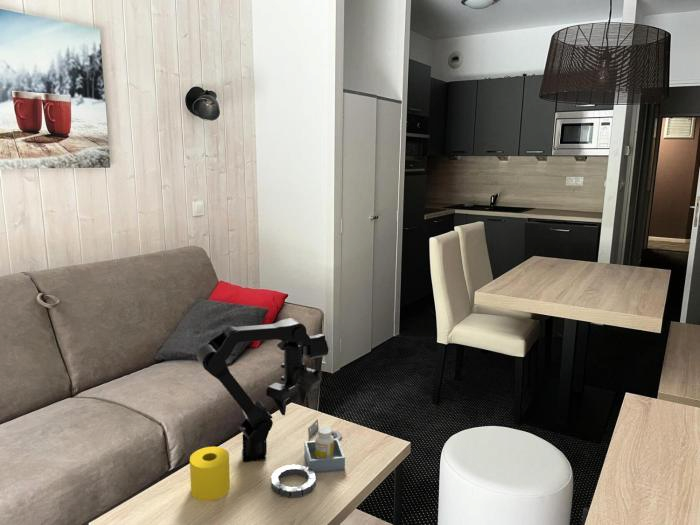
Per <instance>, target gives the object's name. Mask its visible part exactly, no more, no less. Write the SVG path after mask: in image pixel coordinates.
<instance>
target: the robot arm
mask: <svg viewBox="0 0 700 525" xmlns="http://www.w3.org/2000/svg"><path fill="white" fill-rule="evenodd" d="M272 340H275V341H276V340H278V341H280V342H278V344H277V345H276V347H278V349H280V350H281V351H283V362H282V363H281V364H280V368H282V369H283V376H281V377H280V381H282V382H284V383H283V384H282V383H279V382H274V383H271V384H270V385H268V386H266V388H265V396H267V397H270V398H272V400H273V401H274V403H275V405H276V406H277V408H278V410H279V412H280V414H281V415H282V416H285V415H286V411H287V402H288V401H287V400H289V399H290V398H291V396H290V393H291V392H290V391H291V390H290V389H293V388H295V387H297V389H298V390H297V391H298V396H299V400H300V404H302V405H304V404H305V402H306V400H307V397H308V393H311V392H312V391H314V390H316V389H317V388H318V386H319V384H320V383H322V381H323V380H322V377H323V376H322V374H323V373H322V370H320V369H319V368H317V369H313V368H310V367H308V366H307V363H305V362H304V357H306V358H307V359H315V358H321V357H325V356H328V354H329V349H330V348H329V346H328V342H327V340H326V335H324V334H323V333H319V334H316V335H308V333H307V327H306V326H305V325H304V324H303V323H302V322H300V321H299V320H297V319H296V318H293V317H289V318H288V317H287V318H285V319H280V320H278V321H277V322H275V323H271V324H270V323H269V324H257V325H255V324H254V325H244V326H243V325H242V326H241V325H240V326H232V325H231V326H228V327H226V328H225V329H224V330H223V331H222V332H221V333H219V334H218V335H215V336H214V337H212V338H211V339H210V340H209V341H208V343H207V344H204V345H202V346H201V347H200V348H199V349H198V351H197V353H196V358H197V359H196V360H198V362H199V363H200V364H201V366H202V368H204V370H205V371H206V372H207V373H208V374H210V375H211V376H212V377H213V378H215V379H216V380H218V381H219V382H220V383H221V384H222V386H223V387H224V388H225V390H226V391H227V392H228V394H230V396H231V397H232V398H233V400H234V401H235V402H236V403H237V405H238V406H239V407H240V408H241V411H242V413H243V415H244V417H245V418H244V420H242V422H241V424H240V425H239V426H238V427H239V429H240V431H241V432H242V449H241V450H242V451H241V453H242V454H241V455H242V456H241V457H242V463H243V462H255V461H265V460H266V455H267V450H268V449H267V448H268V447H267V444H268V443H267V439H268V436H269V434H270V431H271V429H272V427H273V424H274V423H273V422H274V421H273V420H272V418H273V415H272V414H271V413H270V412H269V411H268V410H267V408H266V407H265V406H264V404H263V403H262V402H261V401H260V400H259V399H258V400H257V401H256V402H255V401H253V400H252V398H250V396H249V395H248V394H247V392H246V391H245V390H244V389H243V387H242V386H241V385H240V383H238V381H237V379H236V378H235V376H234V375H233V374H232V373H231V372H230V369H229V366H228V363H227V360H228V358H230V356H231V354H232V352H233V351H234V349H235V348H236V346H238V344H239V343H241V344H242V343H250V342H262V341H263V342H264V341H272Z"/></svg>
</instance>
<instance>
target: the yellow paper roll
mask: <svg viewBox="0 0 700 525" xmlns="http://www.w3.org/2000/svg"><path fill="white" fill-rule="evenodd" d="M189 471H190V472H189V473H190V493H191V496H192V497H193V498H195V499H196V500H199V501H203V502H209V501H215V500H219V499H220V498H222V497H224V496H226V495H227V494H228V493H229V491H230V489H231V488H230V485H231V484H230V482H231V481H230V453H229V451H228V450H227V449H225V448H224V447H220V446H205V447H202V448H200V449H197V450H196V451H194V452H193V453H192V454H191V455H190V457H189Z"/></svg>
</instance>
